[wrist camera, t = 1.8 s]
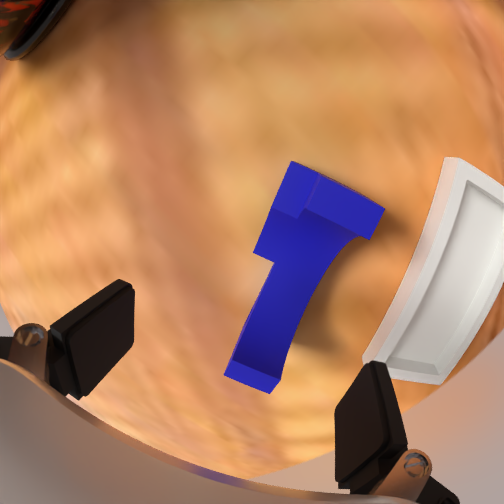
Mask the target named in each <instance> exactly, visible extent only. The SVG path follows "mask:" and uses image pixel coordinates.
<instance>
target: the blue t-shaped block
mask: <svg viewBox="0 0 504 504" xmlns="http://www.w3.org/2000/svg"><path fill="white" fill-rule="evenodd" d="M384 210H385V208H383V207H382V206H380V205H378V204H377V203H375V202H374V201H372V200H370V199H369V198H367V197H365V196H364V195H362V194H360V193H359V192H357V191H355V190H353V189H351V188H349V187H347V186H345V185H343V184H341V183H339V182H337V181H335V180H333V179H331V178H329V177H327V176H325V175H323V174H320V173H318V172H316V171H314V170H312V169H310V168H308V167H305V166H303V165H301V164H299V163H296V162H294V161H291V162H290V165H289V167H288V169H287V172H286V174H285V176H284V179H283V181H282V183H281V186H280V188H279V190H278V192H277V195H276V197H275V199H274V202H273V204H272V206H271V209H270V212H269V214H268V217H267V220H266V222H265V225H264V227H263V230H262V232H261V235H260V237H259V239H258V242H257V244H256V246H255V249H254V251H253V253H255V254H257V255H259V256H261V257H263V258H266V259H268V260H270V261H272V262H274V264H273V266H272V268H271V270H270V272H269V274H268V277H267V279H266V281H265V283H264V285H263V287H262V289H261V291H260V293H259V295H258V297H257V299H256V301H255V303H254V305H253V307H252V309H251V311H250V314H249V316H248V318H247V320H246V322H245V324H244V326H243V329H242V331H241V334H240V336H239V339H238V341H237V344H236V346H235V348H234V351H233V353H232V356H231V358H230V361H229V363H228V365H227V368H226V370H225V373H224V376H226V377H229V378H231V379H233V380H236V381H238V382H241V383H243V384H245V385H248V386H250V387H253V388H255V389H258V390H260V391H263V392H266V393H268V394H270V393H271V392H272V390H273V389H274V388H275V387H276V385H277V384H278V383H279V381H280V380H281V376H282V371H283V367H284V363H285V360H286V356H287V353H288V350H289V347H290V345H291V342H292V339H293V336H294V334H295V331H296V329H297V326H298V324H299V322H300V319H301V317H302V315H303V313H304V311H305V308H306V306H307V304H308V302H309V300H310V298H311V296H312V294H313V292H314V290H315V289H316V287H317V285H318V283H319V281H320V280H321V278H322V276H323V275H324V273H325V271H326V270H327V268H328V267H329V265H330V264H331V262H332V261H333V259H334V258H335V257H336V255H337V254H338V253H339V252H340V250H341V249H342V248H343V247H344V246H345V245H346V244H347V243H348V242H349V241H351V240H352V239H354V238H356V237H358V236H362V237H364V238H366V239H368V240H370V238H371V236H372V234H373V232H374V230H375V228H376V226H377V224H378V222H379V220H380V218H381V216H382V214H383V212H384Z"/></svg>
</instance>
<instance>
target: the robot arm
mask: <svg viewBox="0 0 504 504" xmlns="http://www.w3.org/2000/svg"><path fill="white" fill-rule="evenodd" d="M134 304H135V290H134V289H133V288H132V285H131V284H130V283H128V282H125V281H123V280H121V279H118V280H116V281H114V282H113V283H111V284H110V285H108V286H107V287H105V288H104V289H102V290H101V291H99V292H98V293H96V294H95V295H93V296H92V297H90V298H89V299H87V300H86V301H84V302H83V303H82V304H80V305H79V306H77V307H76V308H74V309H73V310H71V311H70V312H69V313H67V314H66V315H64V316H63V317H62V318H60V319H59V320H57V321H56V322H55V323H53V324H52V325H50V330H48V331H46V329H45V328H44V327H43V326H41V325H39V324H35V323H28V324H25V325H22V326H20V327H19V328H18V329H17V330H16V331H15V333H14V336H13V337H0V504H460V502H459V499H458V497H457V496H456V495H455V494H454V493H452V492H451V491H450V490H448V489H447V488H445V487H444V486H443V485H442V484H440V483H439V482H437V481H436V480H435V479H434V478H432V477H431V476H430V475H431V471H432V463H431V460H430V459H429V457H428V456H427V455H426V454H425V453H424V452H422V451H420V450H417V449H410V450H408V448H407V444H408V442H407V438H406V433H405V429H404V425H403V421H402V417H401V413H400V409H399V406H398V402H397V398H396V395H395V391H394V388H393V384H392V381H391V378H390V375H389V371H388V368H387V365H386V363H384V362H379V361H374V360H372V361H370V362H369V363H366V364H365V365H364V366H363V368H362V369H361V371H360V372H359V374H358V376H357V377H356V379H355V380H354V382H353V383H352V385H351V386H350V388H349V389H348V391H347V392H346V393H345V395H344V396H343V398H342V399H341V401H340V402H339V403H338V405H337V406H336V409H335V413H334V417H335V480H336V482H338V488H339V489H350V494H335V493H322V492H313V491H304V490H296V489H289V488H283V487H277V486H271V485H267V484H262V483H257V482H253V481H249V480H244V479H240V478H237V477H233V476H229V475H226V474H222V473H219V472H216V471H212V470H209V469H206V468H203V467H200V466H197V465H195V464H192V463H189V462H186V461H184V460H181V459H179V458H176V457H174V456H171V455H169V454H166V453H164V452H162V451H160V450H157V449H155V448H153V447H151V446H149V445H146V444H144V443H142V442H140V441H138V440H136V439H134V438H132V437H130V436H128V435H126V434H125V433H123V432H121V431H119V430H117V429H115V428H114V427H112V426H110V425H108V424H107V423H105V422H103V421H102V420H100V419H98V418H97V417H95V416H93V415H92V414H90V413H89V412H87V411H86V410H84V409H83V408H81V407H79V406H78V405H76V404H75V403H73V402H72V401H71V400H69V399H68V398H66V397H65V396H66V395H67V394H68V393H69V394H70V395H71V396H73V397H74V398H76V399H77V400H80V399H81V398H82V397H83V396H87V395H89V393H90V392H91V391H92V390H93V389H94V388H95V387H96V386H97V385H98V383H99V382H100V381H101V380H102V379H103V378H104V377H105V376H106V375H107V373H108V372H109V371H110V370H111V369H112V368H113V367H114V366H115V365H116V364H117V362H118V361H119V360H120V359H121V358H122V357H123V356H124V355H125V354H126V353H127V352H128V351H129V349H130V348H131V347H132V345H133V343H134Z"/></svg>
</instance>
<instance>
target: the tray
mask: <svg viewBox="0 0 504 504" xmlns="http://www.w3.org/2000/svg"><path fill="white" fill-rule="evenodd" d="M503 282H504V186H502V185H501V184H499V183H498V182H497V181H495V180H494V179H492V178H491V177H489V176H488V175H486V174H485V173H483V172H482V171H480V170H479V169H477V168H476V167H474V166H472V165H471V164H469V163H467V162H466V161H464V160H462V159H461V158H458V157H444V162H443V166H442V170H441V174H440V177H439V181H438V185H437V188H436V191H435V195H434V198H433V201H432V205H431V208H430V211H429V214H428V217H427V220H426V223H425V225H424V228H423V231H422V234H421V236H420V239H419V242H418V244H417V247H416V249H415V252H414V254H413V257H412V259H411V262H410V264H409V266H408V269H407V271H406V273H405V275H404V278H403V280H402V282H401V284H400V286H399V288H398V291H397V293H396V295H395V297H394V299H393V301H392V303H391V305H390V307H389V309H388V311H387V313H386V315H385V317H384V318H383V320H382V322H381V324H380V326H379V328H378V330H377V331H376V333H375V335H374V337H373V338H372V340H371V342H370V344H369V345H368V347H367V349H366V350H365V352H364V354H363V355H362V360H363V365H365V364H366V363H369V362H370V361H372V360H374V361H379V362H384V363H386V365H387V368H388V371H389V375H390V378H393V379H399V380H406V381H413V382H420V383H427V384H436V385H441V384H442V382H443V381H444V380H445V379H446V377H447V376H448V375H449V373H450V372H451V371H452V369H453V368H454V367H455V365H456V364H457V362H458V361H459V360H460V358H461V357H462V355H463V354H464V352H465V351H466V349H467V348H468V346H469V345H470V343H471V342H472V340H473V338H474V337H475V335H476V333H477V332H478V330H479V328H480V327H481V325H482V323H483V322H484V320H485V318H486V316H487V314H488V313H489V311H490V309H491V307H492V305H493V303H494V301H495V299H496V297H497V295H498V293H499V291H500V289H501V287H502V284H503Z"/></svg>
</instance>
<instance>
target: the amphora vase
mask: <svg viewBox="0 0 504 504" xmlns="http://www.w3.org/2000/svg"><path fill="white" fill-rule="evenodd" d="M71 1H72V0H0V57H1V56H2V55H4V57H5V58H6V60H10V61H15V60H18V59H20V58H22V57H23V56H25V55H26V54H28V53H29V52H30V51H31V50H32V49H34V48H35V47H36V46H37V45H38V43H39V42H40V41H41V40H42V39H43V38H44V37H45V36H46V35H47V33H48V32H49V31H50V30H51V29H52V27H53V26H54V25H55V24H56V23H57V21H58V20H59V18H60V17H61V16H62V14H63V13H64V12H65V10H66V9H67V7H68V6H69V4H70V3H71Z"/></svg>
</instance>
